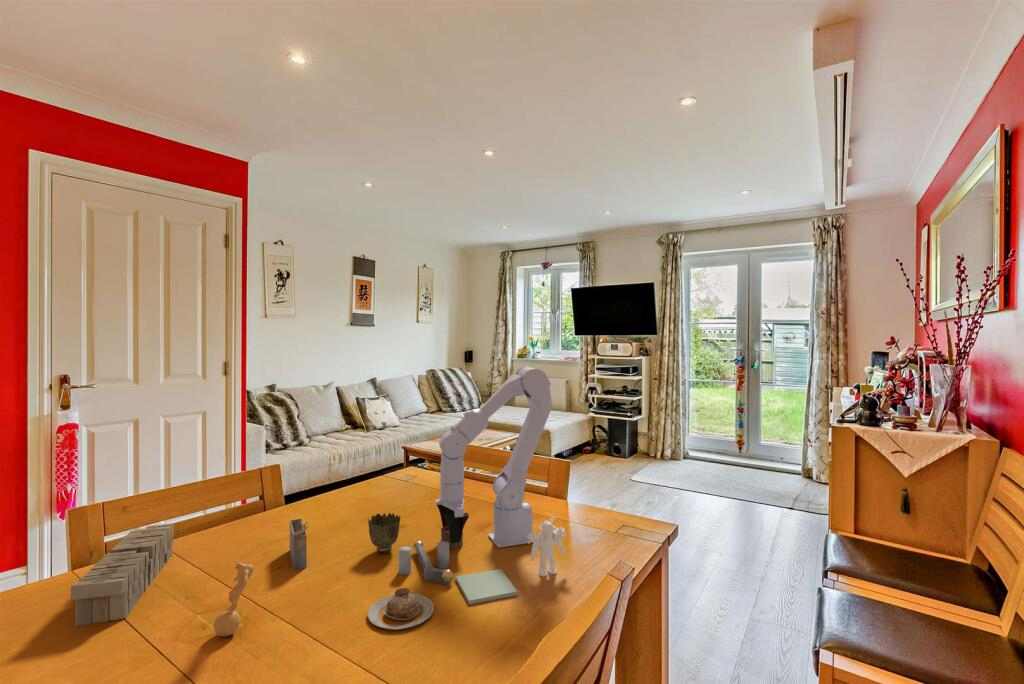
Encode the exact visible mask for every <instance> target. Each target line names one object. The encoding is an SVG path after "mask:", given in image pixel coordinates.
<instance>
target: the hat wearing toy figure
mask: <svg viewBox="0 0 1024 684" xmlns="http://www.w3.org/2000/svg"><path fill="white" fill-rule="evenodd" d="M556 518H557V514H555V515H554V516H553V517H550V518H549V520H544V521H543V522H542V523H541V524H539V526H538V528H539V530H540V531H539V532H537V531H535V530H533V532H532V533H531V532H530V533H529V534H528V535H527V538H528V539H529V540H530V542H531V541H532V544H533V545H532V546H531V551H530V560H531V561H532V562H533V561H535V556H536V557H539V567H538V570H537V571H538V575H539V576H541V577H543V578H544V577H547V576H548V573H549V574H551V575H556V574H557V573H558V571H557V569H556V561H555V560H556V559H555V553H554V546H555V544H556V546H557V547H558V554H561V553H562V557H564V556H565V555H566V550H565V548H564V546H563V544H562V542H563V541H564V540H565V539H566V538H567V535H566V529H565V528H564V527H556V526H554V525H553V523H554V521H556ZM530 542H529V541H528V543H527V544H528V545H530V544H531V543H530ZM537 550H539V551H540V552H539V554H538V552H537ZM547 560H548V564H547Z"/></svg>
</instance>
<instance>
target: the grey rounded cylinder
mask: <svg viewBox="0 0 1024 684" xmlns="http://www.w3.org/2000/svg"><path fill="white" fill-rule="evenodd" d="M411 572H412V549H411V547H409V546H401V547H399V548H398V574H399V575H402V576H407V575H409V574H410V573H411Z"/></svg>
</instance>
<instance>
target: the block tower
mask: <svg viewBox="0 0 1024 684" xmlns="http://www.w3.org/2000/svg"><path fill="white" fill-rule="evenodd" d="M173 553H174V523H172V522H171V523H163V524H155V525H147V526H146V527H145V528H137V529H136V528H135V529H134V528H133V529H131V530H130V531H129V532H128V533H127V534H126V535H124V536H123V538H121V540H120V541H119V542H118V543H117V544H116V545H115V546H113V547H112V548H111V549H110V553H105V554H104V555H103V557H101V559H100V560H98V561H97V562H96V563H95V564H94V565H93V567H91V568H90V570H88V571H87V572H86V573H85V575H83V577H81V578H80V579H79V580H78V581H77V582H74V583H73V584H71V586H70V597H69V599H70V601H75V609H74V610H75V614H74V615H75V616H74V618H75V619H74V621H75V625H74V627H81V626H88V625H92V624H100V623H106V622H109V621H116V620H123V619H126V618H127V617H128V616H129V615H130V614H131V612H132V610H133V609H134V608H135V606H136V605H137V604H138V602H139V600H140V599H141V597H142V596H143V594H144V593H145V592H147V590H148V589H149V586H150V585H151V584H152V583H153V581H154V580H155V579H156V578H157V576H158V575H159V573H160V572H161V571H162V569H163V568H164V567H165V564H167V563H168V561H169V560H170V559H171V558H172V557H173V556H174V555H173Z"/></svg>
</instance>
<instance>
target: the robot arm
mask: <svg viewBox="0 0 1024 684" xmlns="http://www.w3.org/2000/svg"><path fill="white" fill-rule="evenodd" d="M551 395H552V394H551V381H550V380H549V378H548V377H547V374H546V373H545V372H544V371H543V370H541V369H540V368H537V367H536V368H533V367H532V366H527V365H526V366H522V367H520V368H518V370H517V371H516V372H515V373H513V374H511V375H510V376H509V377H508V378H507V379H506V380H505V381H504V382H503V384H502V385H501V386H500V387H499V388H498V389H497V390H496V391H495V392H494V393H493V394H492V395H491V396H490V397H489V398H488V399H487V400H486V401H485V402H484V404H482V406H481V407H480V408H477V409H473V408H472V409H470V411H467V410H466V411H465V412H464V413H463V416H464V417H462V418H461V419H460V420H459V422H457V423H456V424H455V425H454V426H453V425H452V426H450V428H449V431H446V432H445V433H444V434H443V435H442V436H441V437H440V440H439V442H438V443H439V447H440V449H441V451H442V452H441V455H440V460H441V461H440V479H439V480H440V481H439V483H440V484H439V487H440V489H439V494H440V495H439V496H440V497H439V498H437V499H435V501H434V502H435V505H436V506H437V509H438V511H439V516H440V520H441V525H442V528H443V527H444V526H446V525H448V528H449V535H450V541H451V543H459V542H460V540H461V536H462V532H463V533H464V528H465V525H466V523H467V521H468V519H469V517H470V515H469V513H468V512H464V509H465V508H464V505H465V497H464V491H465V489H464V487H465V486H464V485H465V483H464V481H465V479H464V478H465V477H464V476H465V462H464V455H465V452H466V450H467V445H470V444H471V443H472V442H473V441H474V440H476V438H477V437H478V436H479V435H480V434H481V433H482V432H483V431H484V430H485V429H486V428H487V427H488V426H489V419H490V417H492V416H493V415H494V414H495V413H496V412H497V411H499V410H500V409H501V408H502V407H503V406H504V405H505V404H506V403H508V401H509V400H510V399H512V398H515V397H522V396H525V398H526V400H527V402H528V404H529V409H528V410H527V411H528V412H527V414H526V416H525V419H524V421H523V424H522V427H521V429H520V431H519V434H518V437H517V439H516V442H515V444H514V447H513V449H512V451H511V455H510V457H509V459H508V462H507V464H505V466H504V467H502V470H501V472H500V474H498V475H497V476H496V478H495V479H494V480H493V483H492V490H493V492H494V495H496V498H495V500H494V501H493V532H492V533H488V537H489V538H490V539H491V541H492V542H493V543H494V544H495V546H496V547H497V548H499V549H500V548H505V547H513V546H518V545H526V544H528V541H529V542H530V540H529V539H528V538H527V535H528V534H529V533H530V532H531V533H532V532H534V531H533V528H534V527H533V525H534V524H533V519H534V518H533V516H534V515H533V511H532V507H531V505H530V503H529V502H524V501H525V488H526V485H527V472H528V469H529V467H530V464H531V462H532V459H533V456H534V453H535V451H536V449H537V446H538V444H539V441H540V438H541V436H542V434H543V431H544V428H545V426H546V424H547V421H548V418H549V416H550V413H551V411H552V407H553V404H552V403H553V402H552V396H551ZM530 544H533V542H532V541H531V542H530Z"/></svg>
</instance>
